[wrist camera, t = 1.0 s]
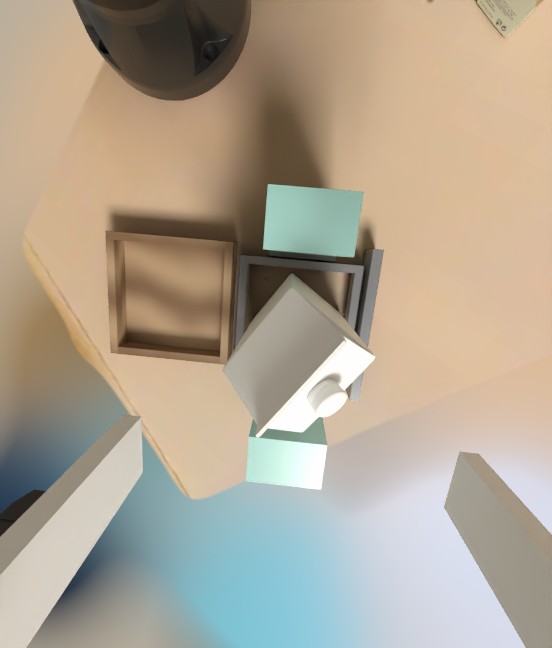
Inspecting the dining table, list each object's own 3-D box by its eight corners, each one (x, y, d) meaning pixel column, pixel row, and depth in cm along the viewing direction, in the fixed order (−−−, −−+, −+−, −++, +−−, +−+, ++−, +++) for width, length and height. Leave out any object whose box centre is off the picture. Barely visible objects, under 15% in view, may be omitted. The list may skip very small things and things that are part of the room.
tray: (119, 232, 33) (105, 230, 30) (237, 243, 33) (233, 242, 30) (123, 345, 36) (110, 352, 33) (231, 356, 36) (226, 364, 33)
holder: (246, 204, 32) (216, 171, 19) (380, 215, 31) (441, 189, 18) (234, 403, 37) (204, 481, 24) (349, 415, 36) (379, 501, 24)
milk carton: (251, 320, 34) (204, 398, 16) (291, 272, 33) (290, 295, 14) (299, 358, 35) (306, 475, 17) (340, 313, 34) (398, 385, 15)
